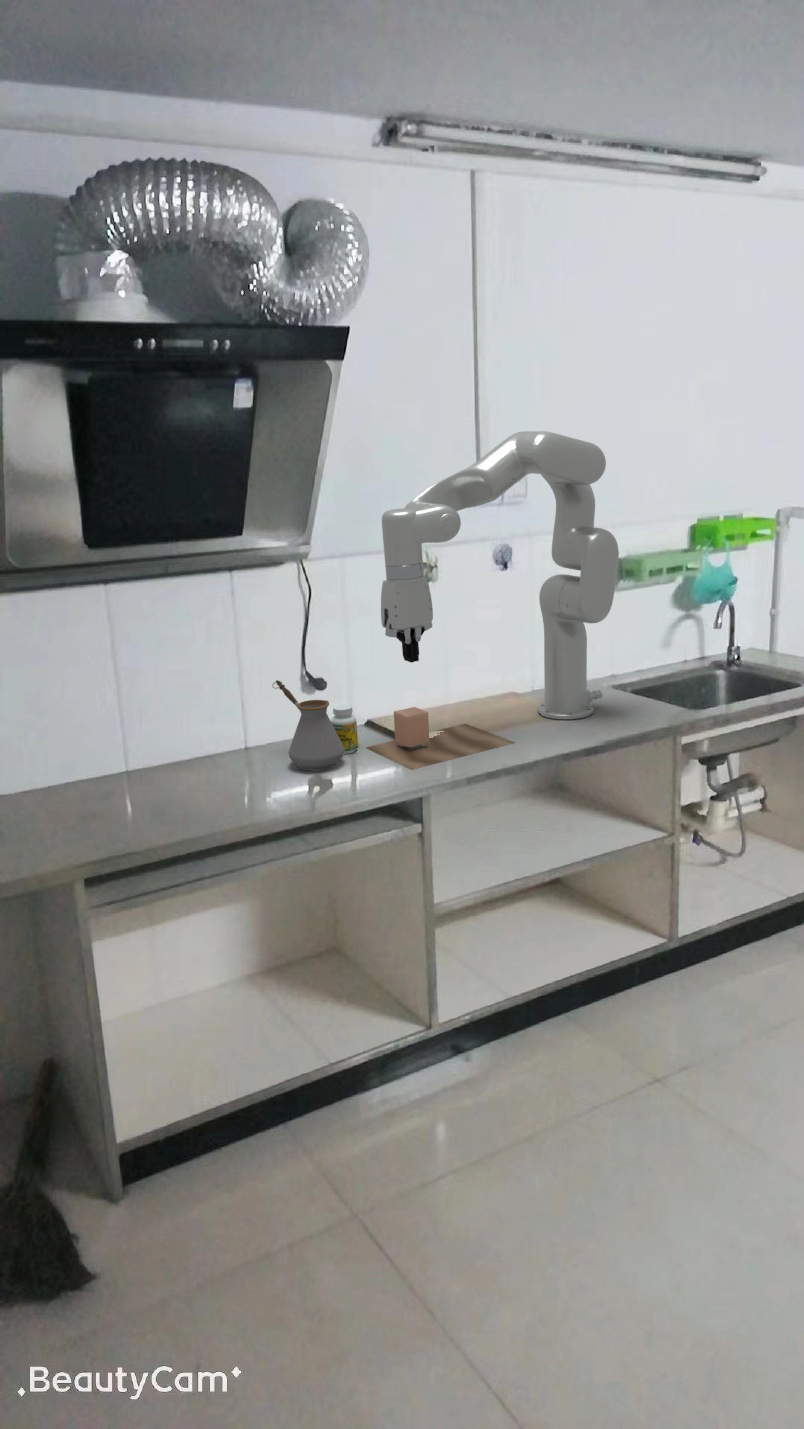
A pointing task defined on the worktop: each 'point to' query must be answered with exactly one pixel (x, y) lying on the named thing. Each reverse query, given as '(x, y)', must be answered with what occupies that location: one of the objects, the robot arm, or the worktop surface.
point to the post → (412, 747)
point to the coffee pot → (313, 735)
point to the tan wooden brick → (411, 727)
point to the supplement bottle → (345, 727)
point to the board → (442, 746)
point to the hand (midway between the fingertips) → (411, 660)
